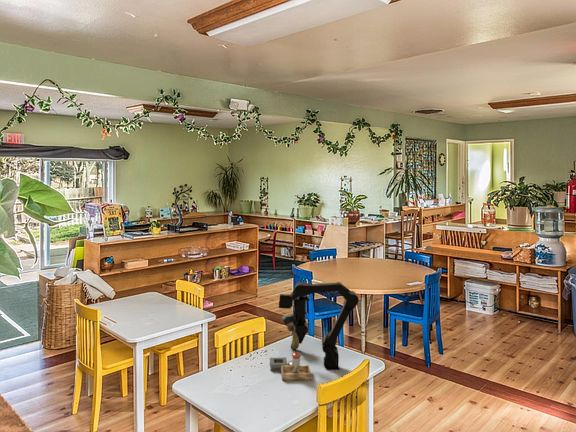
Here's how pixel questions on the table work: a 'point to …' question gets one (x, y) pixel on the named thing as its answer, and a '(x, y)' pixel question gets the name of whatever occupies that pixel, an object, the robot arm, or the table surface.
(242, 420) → the table surface
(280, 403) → the table surface
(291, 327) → the mushroom
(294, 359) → the pin
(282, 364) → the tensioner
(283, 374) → the tray
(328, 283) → the robot arm
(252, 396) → the table surface
